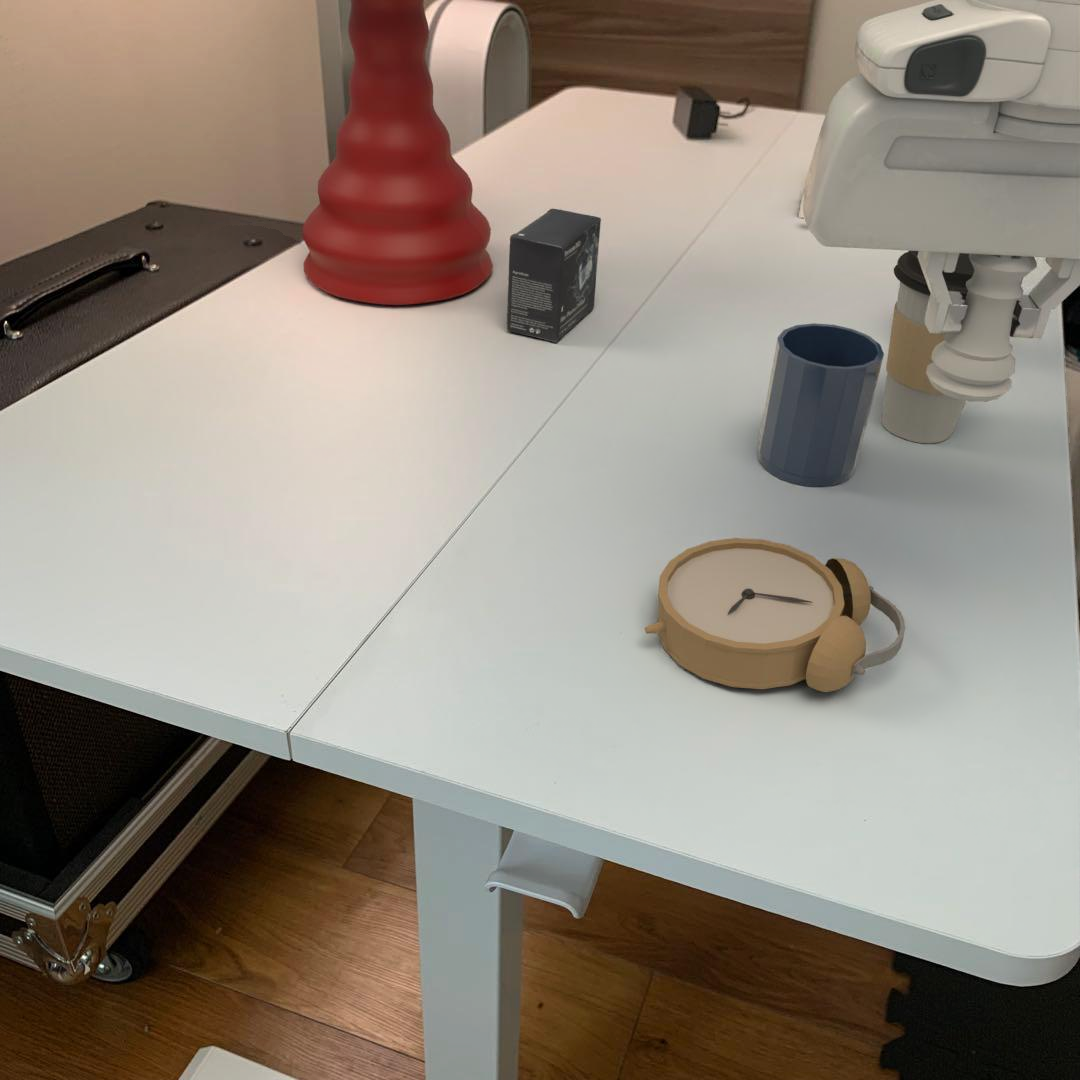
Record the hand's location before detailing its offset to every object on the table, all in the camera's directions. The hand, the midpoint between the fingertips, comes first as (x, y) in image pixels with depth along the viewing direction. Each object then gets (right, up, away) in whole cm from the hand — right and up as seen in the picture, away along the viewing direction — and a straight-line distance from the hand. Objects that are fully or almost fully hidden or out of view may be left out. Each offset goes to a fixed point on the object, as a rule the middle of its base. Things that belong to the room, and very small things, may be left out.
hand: (980, 331), depth 56 cm
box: (-22, +10, +49) cm, 54 cm away
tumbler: (-2, -5, +29) cm, 29 cm away
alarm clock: (-9, -17, +11) cm, 22 cm away
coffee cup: (+9, -1, +34) cm, 35 cm away
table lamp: (-38, +18, +57) cm, 71 cm away
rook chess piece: (0, -3, +2) cm, 3 cm away
